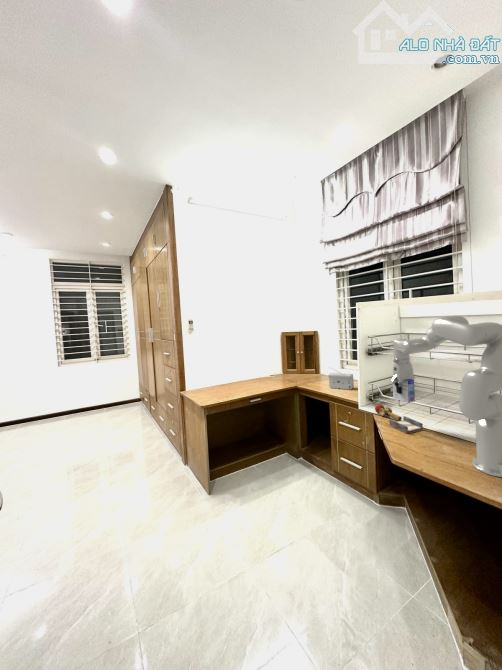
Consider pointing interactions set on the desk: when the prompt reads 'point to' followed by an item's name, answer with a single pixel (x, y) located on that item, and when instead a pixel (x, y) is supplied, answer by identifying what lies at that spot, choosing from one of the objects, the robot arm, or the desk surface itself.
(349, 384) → the stereo radio cassette player
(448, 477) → the desk surface
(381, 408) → the kendama
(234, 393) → the desk surface
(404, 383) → the ink cartridge box
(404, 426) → the jig
